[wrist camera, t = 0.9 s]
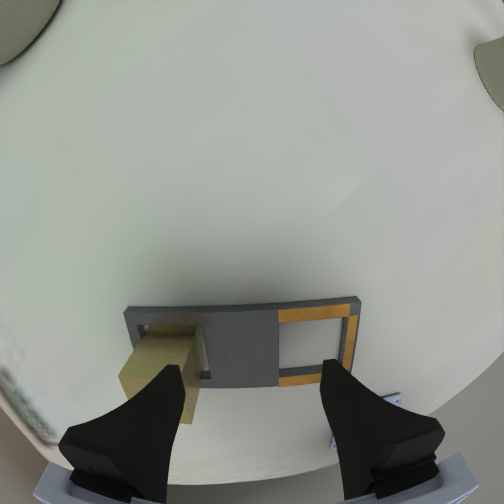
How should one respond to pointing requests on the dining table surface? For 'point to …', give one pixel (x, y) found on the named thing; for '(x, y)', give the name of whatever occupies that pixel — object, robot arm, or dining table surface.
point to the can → (492, 68)
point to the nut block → (166, 362)
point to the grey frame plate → (252, 338)
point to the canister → (22, 24)
